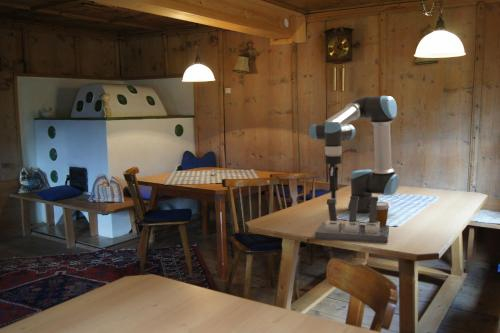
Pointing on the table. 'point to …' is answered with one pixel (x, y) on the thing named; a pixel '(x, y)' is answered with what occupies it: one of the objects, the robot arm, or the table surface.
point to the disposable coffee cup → (382, 213)
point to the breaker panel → (353, 231)
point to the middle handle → (353, 208)
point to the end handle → (373, 209)
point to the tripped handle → (332, 209)
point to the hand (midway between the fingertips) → (333, 204)
